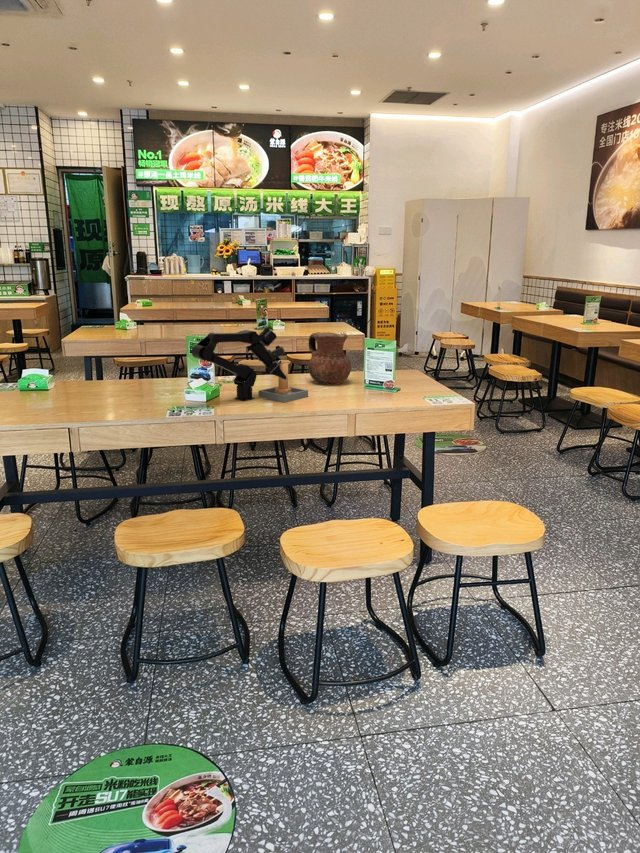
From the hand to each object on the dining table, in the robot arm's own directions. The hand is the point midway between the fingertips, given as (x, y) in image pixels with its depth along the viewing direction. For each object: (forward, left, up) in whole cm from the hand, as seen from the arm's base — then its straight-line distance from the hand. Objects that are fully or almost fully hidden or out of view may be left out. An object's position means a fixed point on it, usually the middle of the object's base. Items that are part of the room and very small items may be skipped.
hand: (286, 377), depth 284 cm
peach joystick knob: (-1, +1, -7) cm, 7 cm away
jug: (+39, +7, -9) cm, 41 cm away
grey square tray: (-1, +1, -9) cm, 9 cm away
